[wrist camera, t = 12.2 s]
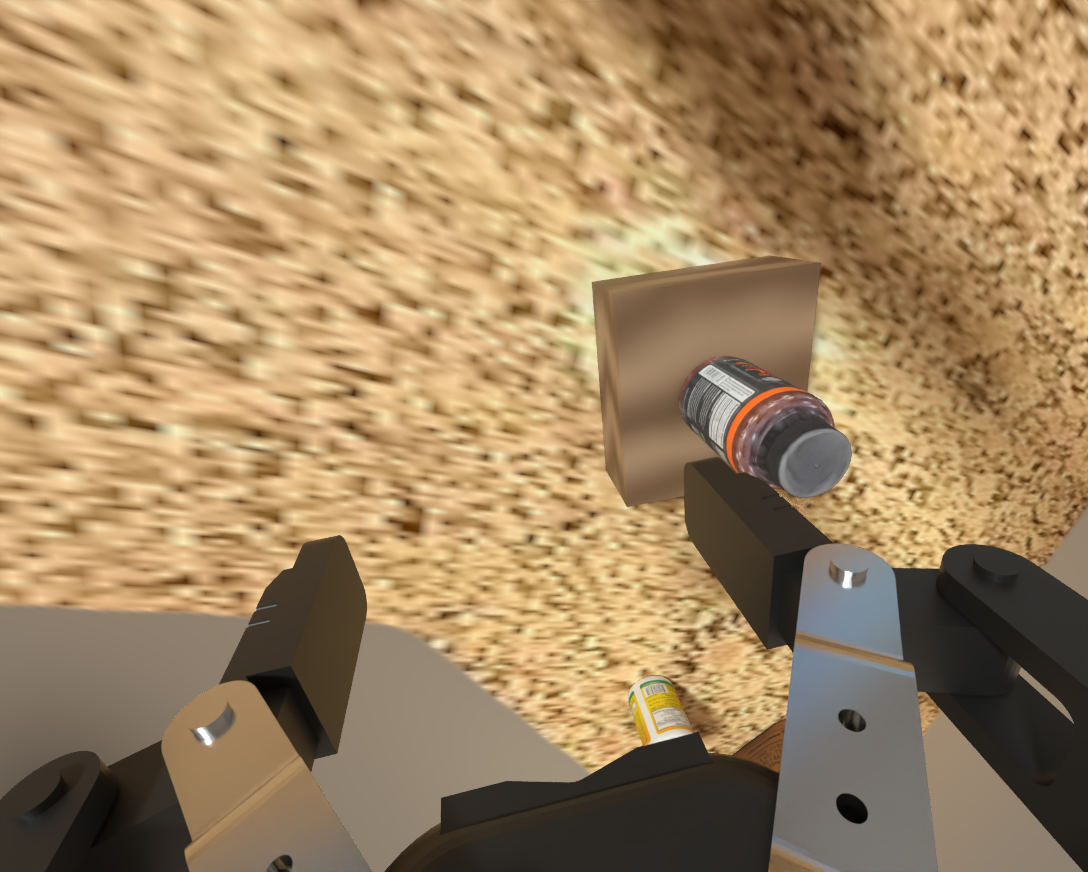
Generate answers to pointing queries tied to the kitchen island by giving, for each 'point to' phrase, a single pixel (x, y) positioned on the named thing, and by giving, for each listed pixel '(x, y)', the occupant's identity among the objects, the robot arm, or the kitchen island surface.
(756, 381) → the supplement bottle
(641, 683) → the supplement bottle
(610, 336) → the walnut block
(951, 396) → the kitchen island surface
